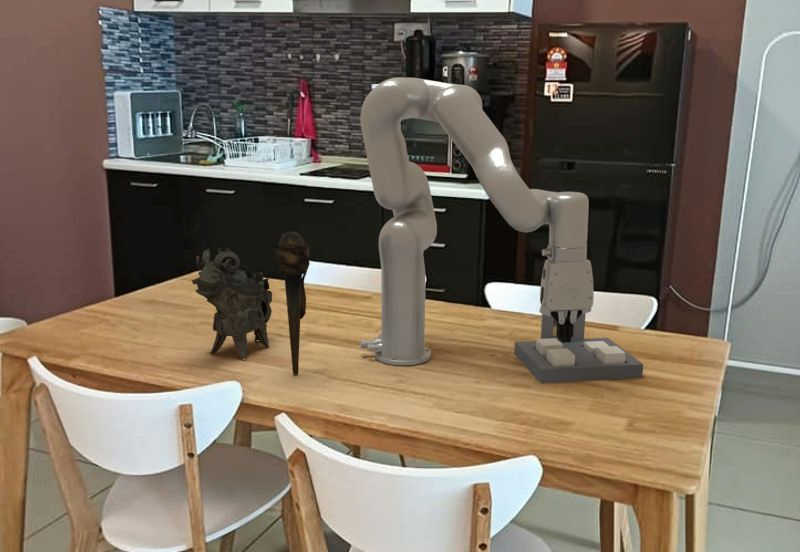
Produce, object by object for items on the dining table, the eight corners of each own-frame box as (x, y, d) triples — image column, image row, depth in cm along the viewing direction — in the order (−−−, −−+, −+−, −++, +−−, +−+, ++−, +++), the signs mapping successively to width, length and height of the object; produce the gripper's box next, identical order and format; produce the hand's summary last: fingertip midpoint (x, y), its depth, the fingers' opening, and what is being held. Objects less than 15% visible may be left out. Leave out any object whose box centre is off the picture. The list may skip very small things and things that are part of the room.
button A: (553, 367, 170) (554, 356, 170) (546, 360, 175) (546, 349, 174) (574, 366, 171) (575, 355, 170) (566, 359, 175) (567, 348, 175)
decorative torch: (298, 382, 168) (296, 236, 161) (271, 376, 171) (267, 233, 164) (318, 372, 173) (316, 231, 166) (291, 366, 177) (288, 228, 170)
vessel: (181, 365, 176) (177, 251, 173) (250, 340, 199) (247, 239, 195) (224, 371, 172) (220, 254, 168) (289, 345, 194) (287, 241, 190)
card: (541, 341, 186) (543, 311, 184) (540, 340, 186) (542, 310, 185) (584, 339, 187) (586, 309, 186) (582, 338, 188) (584, 308, 186)
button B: (604, 365, 172) (605, 354, 172) (595, 357, 176) (596, 347, 176) (624, 364, 173) (625, 353, 172) (615, 356, 177) (616, 346, 177)
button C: (542, 356, 177) (542, 345, 176) (535, 349, 181) (536, 339, 181) (562, 355, 178) (563, 344, 177) (555, 348, 182) (555, 338, 182)
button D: (590, 359, 179) (591, 348, 179) (583, 352, 183) (583, 341, 183) (610, 358, 180) (611, 347, 179) (602, 351, 184) (603, 341, 184)
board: (540, 383, 169) (541, 369, 168) (514, 354, 186) (514, 341, 185) (642, 377, 172) (643, 364, 172) (606, 350, 190) (607, 337, 189)
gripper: (538, 259, 162) (535, 348, 167) (610, 255, 165) (606, 344, 169) (526, 251, 170) (523, 337, 174) (595, 248, 172) (591, 333, 176)
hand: (564, 340), depth 171 cm, fingers closed
